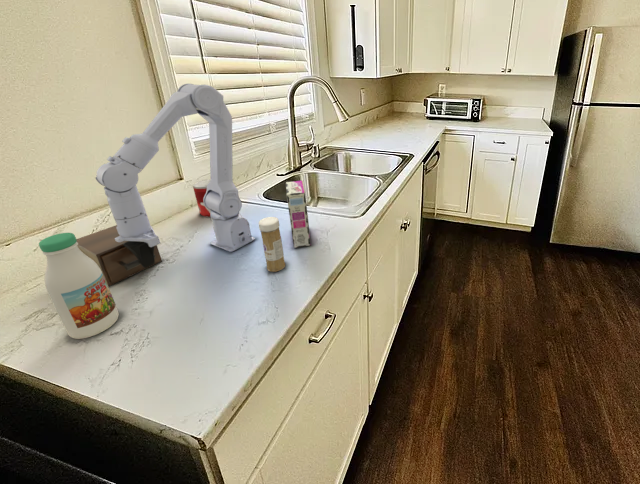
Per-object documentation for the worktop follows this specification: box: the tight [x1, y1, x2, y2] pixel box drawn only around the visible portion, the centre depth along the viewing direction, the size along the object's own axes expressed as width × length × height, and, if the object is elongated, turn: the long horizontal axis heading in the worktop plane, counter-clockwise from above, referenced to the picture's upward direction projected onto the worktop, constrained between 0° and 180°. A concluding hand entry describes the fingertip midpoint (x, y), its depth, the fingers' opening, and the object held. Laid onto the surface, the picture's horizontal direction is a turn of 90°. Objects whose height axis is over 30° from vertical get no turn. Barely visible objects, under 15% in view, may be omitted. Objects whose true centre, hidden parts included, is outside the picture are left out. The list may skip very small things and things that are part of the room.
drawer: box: [100, 246, 160, 283], centre depth 81 cm, size 16×10×7 cm, turn 62°
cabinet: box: [76, 224, 163, 287], centre depth 83 cm, size 13×12×9 cm
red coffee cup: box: [192, 178, 211, 218], centre depth 112 cm, size 8×8×11 cm
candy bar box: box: [285, 180, 312, 249], centre depth 94 cm, size 11×5×16 cm, turn 19°
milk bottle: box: [38, 232, 120, 340], centre depth 62 cm, size 8×8×20 cm
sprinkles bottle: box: [258, 216, 286, 273], centre depth 81 cm, size 5×5×14 cm
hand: (148, 265), depth 79 cm, fingers closed, pressing on drawer
